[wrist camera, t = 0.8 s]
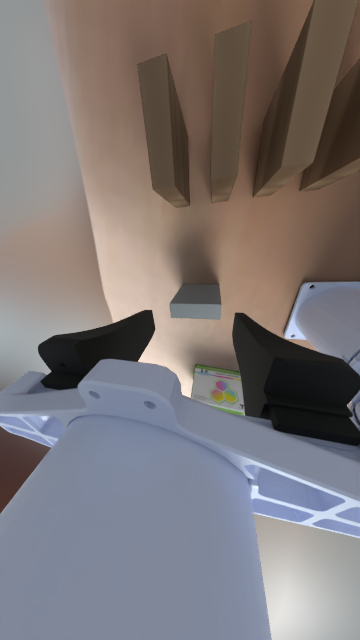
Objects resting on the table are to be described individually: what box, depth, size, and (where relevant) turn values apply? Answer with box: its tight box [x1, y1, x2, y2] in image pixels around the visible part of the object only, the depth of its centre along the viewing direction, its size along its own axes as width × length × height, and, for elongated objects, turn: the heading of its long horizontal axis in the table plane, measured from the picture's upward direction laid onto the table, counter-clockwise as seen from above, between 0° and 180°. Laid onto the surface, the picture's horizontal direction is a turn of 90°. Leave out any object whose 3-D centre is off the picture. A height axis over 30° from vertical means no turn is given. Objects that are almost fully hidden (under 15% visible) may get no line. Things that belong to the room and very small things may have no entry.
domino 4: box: [253, 0, 359, 198], centre depth 10 cm, size 2×5×7 cm, turn 3°
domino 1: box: [137, 54, 190, 208], centre depth 11 cm, size 2×5×7 cm, turn 4°
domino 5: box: [299, 59, 360, 192], centre depth 9 cm, size 2×5×7 cm, turn 4°
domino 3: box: [211, 21, 252, 203], centre depth 11 cm, size 2×5×7 cm, turn 4°
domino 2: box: [170, 284, 221, 320], centre depth 17 cm, size 2×5×7 cm, turn 94°
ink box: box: [191, 365, 245, 416], centre depth 22 cm, size 10×5×14 cm, turn 89°
